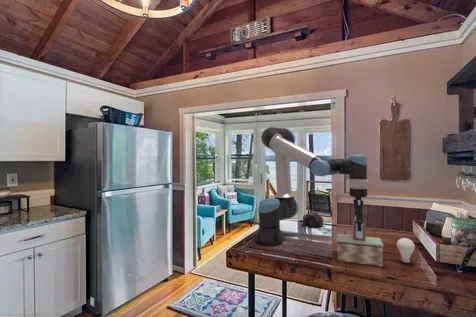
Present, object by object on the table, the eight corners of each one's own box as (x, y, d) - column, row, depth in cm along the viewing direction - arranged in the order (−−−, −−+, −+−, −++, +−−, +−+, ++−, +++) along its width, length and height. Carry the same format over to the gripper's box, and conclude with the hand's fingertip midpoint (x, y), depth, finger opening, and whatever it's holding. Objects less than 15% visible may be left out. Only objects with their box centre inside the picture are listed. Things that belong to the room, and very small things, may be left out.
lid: (336, 241, 116) (336, 239, 116) (337, 235, 126) (337, 233, 126) (383, 246, 108) (383, 244, 108) (379, 239, 119) (379, 237, 119)
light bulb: (408, 267, 108) (408, 241, 108) (393, 261, 114) (393, 237, 114) (418, 264, 110) (418, 239, 110) (403, 258, 116) (403, 235, 116)
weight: (353, 239, 116) (353, 224, 116) (352, 236, 121) (352, 221, 121) (365, 240, 114) (365, 225, 114) (364, 237, 119) (364, 222, 119)
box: (337, 260, 116) (337, 242, 116) (338, 251, 126) (337, 235, 126) (382, 266, 109) (382, 248, 109) (379, 256, 119) (379, 239, 119)
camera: (303, 228, 167) (302, 213, 167) (302, 224, 177) (302, 210, 177) (324, 229, 164) (324, 214, 164) (322, 225, 174) (322, 210, 174)
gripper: (369, 191, 104) (370, 243, 104) (365, 185, 127) (365, 227, 127) (349, 191, 107) (350, 241, 107) (348, 184, 130) (349, 225, 130)
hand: (358, 233), depth 117 cm, fingers open, 13 cm apart
